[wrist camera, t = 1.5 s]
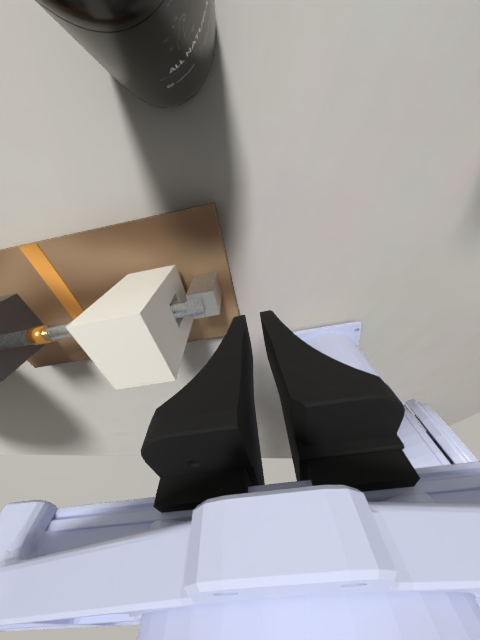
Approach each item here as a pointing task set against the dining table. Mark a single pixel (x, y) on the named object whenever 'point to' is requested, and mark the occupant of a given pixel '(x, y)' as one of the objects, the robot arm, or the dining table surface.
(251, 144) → the dining table surface
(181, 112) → the dining table surface
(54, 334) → the rail
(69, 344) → the board
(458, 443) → the robot arm
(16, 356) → the block
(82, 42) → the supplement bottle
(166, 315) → the sleeve
